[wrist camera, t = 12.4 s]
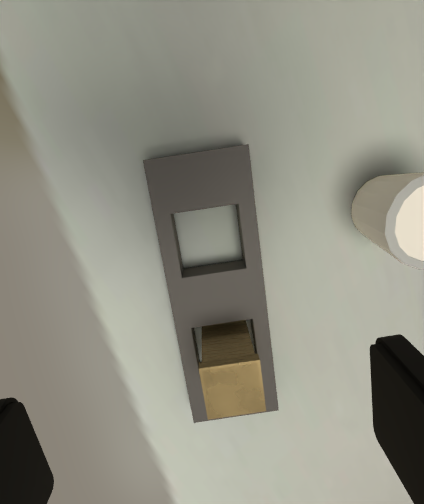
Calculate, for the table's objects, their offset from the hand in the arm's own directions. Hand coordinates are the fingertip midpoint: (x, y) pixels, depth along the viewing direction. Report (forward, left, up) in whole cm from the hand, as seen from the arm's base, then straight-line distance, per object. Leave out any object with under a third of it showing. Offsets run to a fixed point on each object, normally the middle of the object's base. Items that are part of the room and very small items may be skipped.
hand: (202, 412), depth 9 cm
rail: (-1, +5, -22) cm, 22 cm away
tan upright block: (-1, +10, -22) cm, 24 cm away
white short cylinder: (-16, 0, -22) cm, 27 cm away
